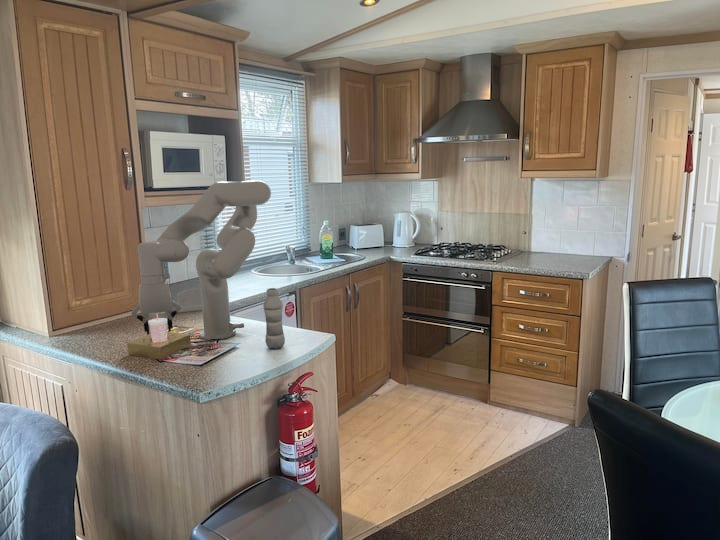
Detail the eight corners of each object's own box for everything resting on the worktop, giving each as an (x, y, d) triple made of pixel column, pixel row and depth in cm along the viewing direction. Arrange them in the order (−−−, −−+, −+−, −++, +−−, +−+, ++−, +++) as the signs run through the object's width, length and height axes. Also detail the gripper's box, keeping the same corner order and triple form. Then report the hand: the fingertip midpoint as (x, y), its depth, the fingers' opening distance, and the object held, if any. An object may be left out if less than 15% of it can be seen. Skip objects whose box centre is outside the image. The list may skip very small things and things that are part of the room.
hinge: (176, 312, 226) (174, 289, 227) (176, 313, 230) (174, 291, 232) (216, 308, 231) (214, 285, 232) (216, 309, 235) (214, 287, 237)
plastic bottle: (267, 351, 173) (263, 292, 170) (264, 345, 180) (261, 288, 176) (286, 349, 175) (283, 290, 171) (283, 343, 182) (280, 286, 178)
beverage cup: (153, 350, 174) (149, 309, 171) (148, 345, 179) (144, 305, 176) (172, 346, 177) (168, 306, 175) (167, 342, 182) (162, 302, 180)
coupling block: (159, 341, 187) (158, 330, 186) (190, 345, 182) (189, 334, 181) (128, 354, 175) (127, 342, 174) (161, 359, 169) (159, 347, 168)
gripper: (180, 274, 180) (185, 325, 184) (125, 280, 174) (131, 332, 177) (181, 278, 173) (186, 331, 177) (124, 284, 167) (130, 339, 171)
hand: (158, 331), depth 177 cm, fingers closed on beverage cup, 6 cm apart
